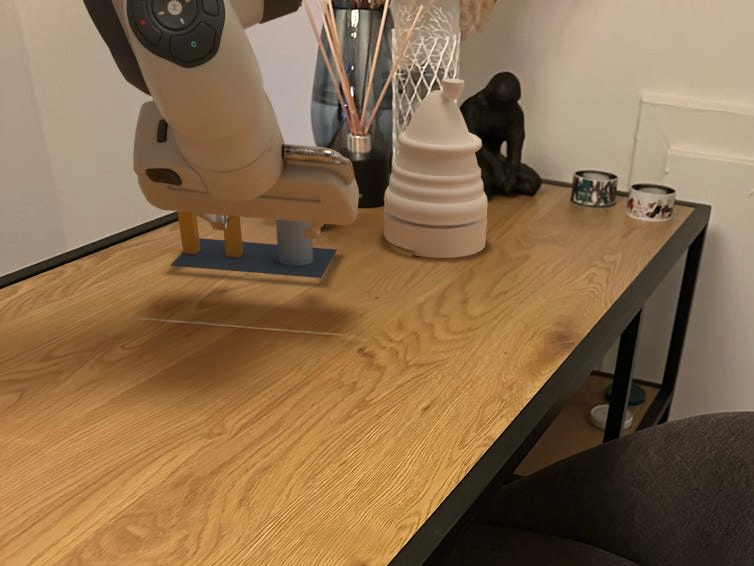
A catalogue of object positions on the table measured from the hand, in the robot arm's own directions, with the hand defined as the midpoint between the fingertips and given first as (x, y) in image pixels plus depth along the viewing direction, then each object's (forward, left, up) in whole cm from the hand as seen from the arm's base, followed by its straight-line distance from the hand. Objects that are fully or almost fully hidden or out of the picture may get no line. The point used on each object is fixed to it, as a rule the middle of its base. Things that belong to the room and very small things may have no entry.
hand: (267, 227), depth 96 cm
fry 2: (-7, +10, -6) cm, 14 cm away
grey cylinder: (0, +10, -6) cm, 12 cm away
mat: (-4, +10, -7) cm, 13 cm away
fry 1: (-12, +10, -6) cm, 17 cm away
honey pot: (+15, +23, -7) cm, 29 cm away
